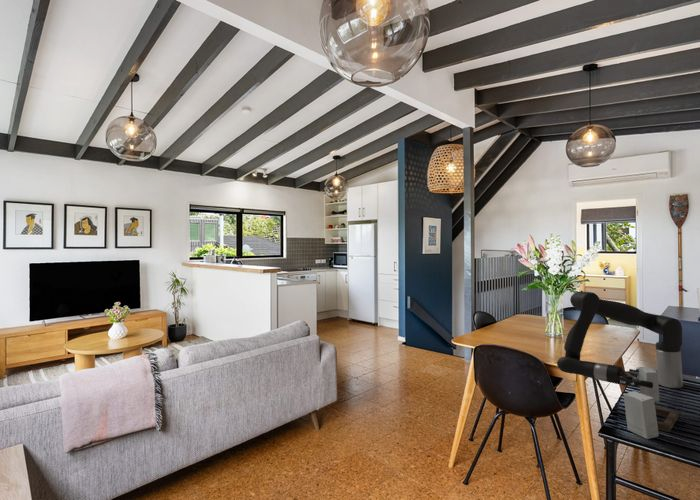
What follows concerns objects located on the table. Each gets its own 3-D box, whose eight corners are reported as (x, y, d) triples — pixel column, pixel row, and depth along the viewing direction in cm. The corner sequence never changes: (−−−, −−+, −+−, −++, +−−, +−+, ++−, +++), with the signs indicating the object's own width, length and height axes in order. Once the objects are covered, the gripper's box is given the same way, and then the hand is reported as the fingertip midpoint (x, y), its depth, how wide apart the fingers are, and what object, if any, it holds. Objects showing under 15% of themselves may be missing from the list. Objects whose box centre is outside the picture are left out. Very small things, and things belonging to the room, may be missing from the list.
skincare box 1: (660, 401, 152) (658, 372, 152) (647, 401, 153) (646, 372, 153) (651, 395, 158) (649, 366, 158) (639, 395, 159) (638, 367, 159)
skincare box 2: (659, 436, 144) (656, 398, 143) (646, 440, 142) (643, 401, 142) (637, 426, 152) (635, 389, 151) (625, 429, 150) (622, 392, 150)
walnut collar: (636, 407, 166) (636, 402, 166) (678, 417, 155) (677, 411, 155) (625, 420, 157) (625, 414, 156) (669, 432, 146) (668, 426, 146)
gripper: (601, 369, 162) (650, 378, 149) (613, 360, 171) (659, 368, 158) (603, 386, 162) (651, 397, 149) (614, 376, 171) (660, 385, 158)
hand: (655, 382), depth 154 cm, fingers closed on skincare box 1, 7 cm apart
